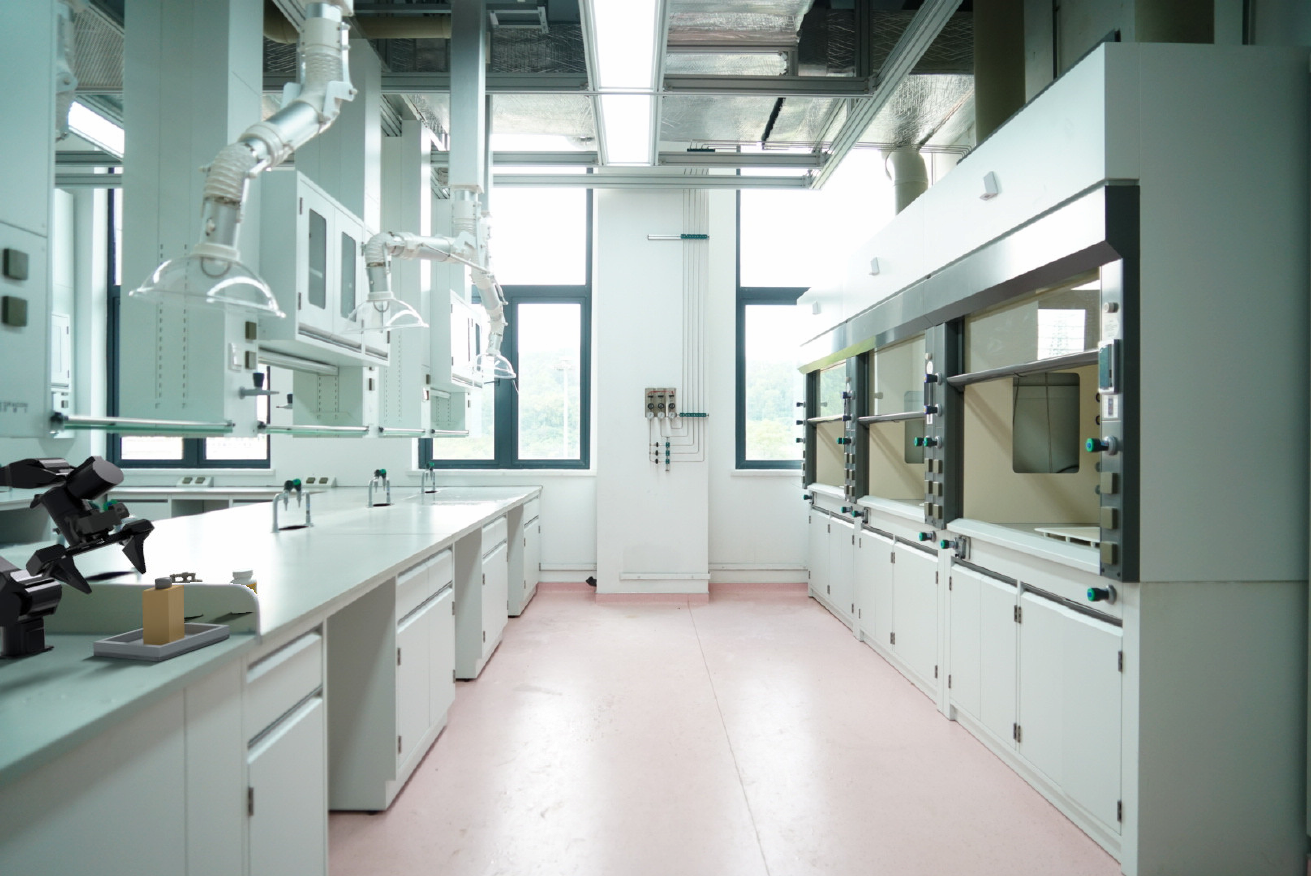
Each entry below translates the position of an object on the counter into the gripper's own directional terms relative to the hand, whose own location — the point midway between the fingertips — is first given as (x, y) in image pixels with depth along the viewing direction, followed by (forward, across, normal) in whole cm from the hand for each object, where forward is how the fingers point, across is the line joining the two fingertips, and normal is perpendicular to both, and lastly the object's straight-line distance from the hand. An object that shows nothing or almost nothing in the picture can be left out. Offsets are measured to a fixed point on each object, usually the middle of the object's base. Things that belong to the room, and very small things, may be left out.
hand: (118, 582), depth 121 cm
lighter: (+7, +18, +20) cm, 28 cm away
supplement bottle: (+13, +25, +14) cm, 32 cm away
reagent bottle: (+13, +3, +3) cm, 14 cm away
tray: (+14, +2, +4) cm, 15 cm away
